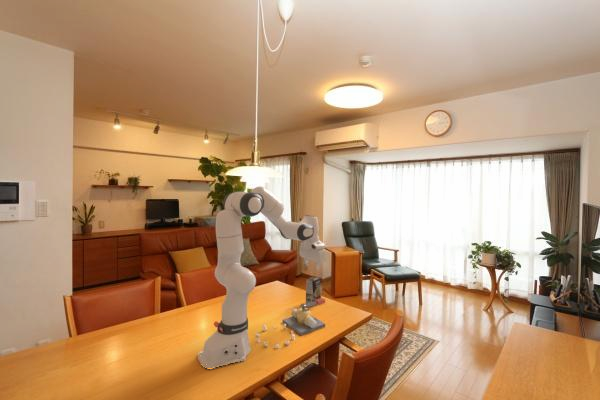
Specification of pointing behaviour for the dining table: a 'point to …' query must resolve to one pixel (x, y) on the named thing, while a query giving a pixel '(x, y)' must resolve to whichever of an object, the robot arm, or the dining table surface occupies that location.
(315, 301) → the valve lever
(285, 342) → the game piece set
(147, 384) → the dining table surface
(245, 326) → the robot arm
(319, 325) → the valve base
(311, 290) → the coffee box
